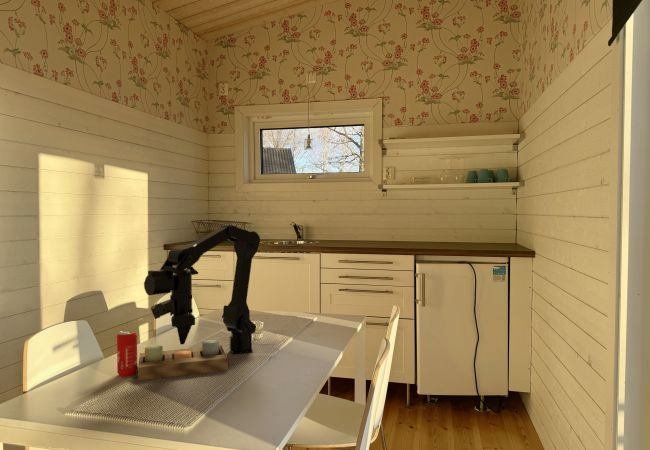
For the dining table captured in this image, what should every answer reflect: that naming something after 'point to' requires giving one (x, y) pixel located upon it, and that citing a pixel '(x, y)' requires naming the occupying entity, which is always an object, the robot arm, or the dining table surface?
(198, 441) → the dining table surface
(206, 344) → the sage green rounded cylinder
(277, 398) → the dining table surface
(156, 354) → the button sage
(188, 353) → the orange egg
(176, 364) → the wooden compartment tray
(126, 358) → the beverage can
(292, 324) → the dining table surface
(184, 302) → the robot arm
